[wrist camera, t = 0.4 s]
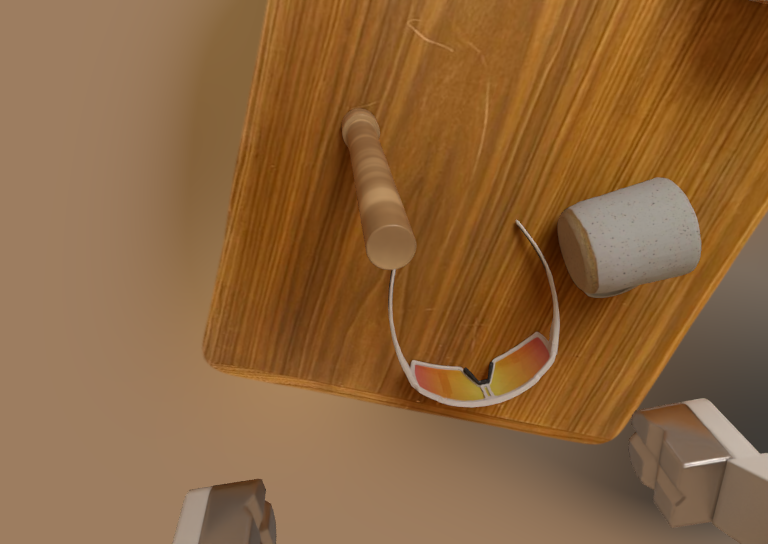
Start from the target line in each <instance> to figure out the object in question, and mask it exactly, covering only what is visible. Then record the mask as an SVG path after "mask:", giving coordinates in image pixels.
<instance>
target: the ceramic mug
mask: <svg viewBox="0 0 768 544" xmlns="http://www.w3.org/2000/svg"><path fill="white" fill-rule="evenodd" d="M557 229H558V239H559V245H560V249H561V253H562V256H563V259H564V262H565V265H566V268H567V270H568V272H569V274H570V276H571V278H572V280H573V282H574V283H575V284H576V285H577V287H578V288H579V289H581V290H582V291H584V292H585V293H586V295H588V296H590V297H594V298H605V297H611V296H616V295H619V294H622V293H624V292H627V291H629V290H631V289H633V288H635V287H637V286H638V285H640V284H645V283H651V282H655V281H659V280H663V279H668V278H672V277H677V276H681V275H684V274H687V273H690V272H691V271H693V270H694V269H695V267H696V266H697V264H698V262H699V259H700V254H701V239H700V230H699V225H698V220H697V217H696V214H695V212H694V209H693V208H692V206H691V204H690V202H689V200H688V198H687V196H686V195H685V194H684V193H683V191H682V190H681V189H680V188H679V187H678V186H677V185H676V184H675V183H674V182H672V181H671V180H669V179H666V178H654V179H651V180H648V181H645V182H642V183H639V184H636V185H633V186H629V187H626V188H623V189H620V190H617V191H614V192H611V193H608V194H605V195H602V196H598V197H594V198H591V199H587V200H584V201H582V202H579V203H577V204H575V205H573V206H571V207H569V208H567V209H565V210H564V211H563V212H562V213H561V215H560V217H559V220H558V224H557Z"/></svg>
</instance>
